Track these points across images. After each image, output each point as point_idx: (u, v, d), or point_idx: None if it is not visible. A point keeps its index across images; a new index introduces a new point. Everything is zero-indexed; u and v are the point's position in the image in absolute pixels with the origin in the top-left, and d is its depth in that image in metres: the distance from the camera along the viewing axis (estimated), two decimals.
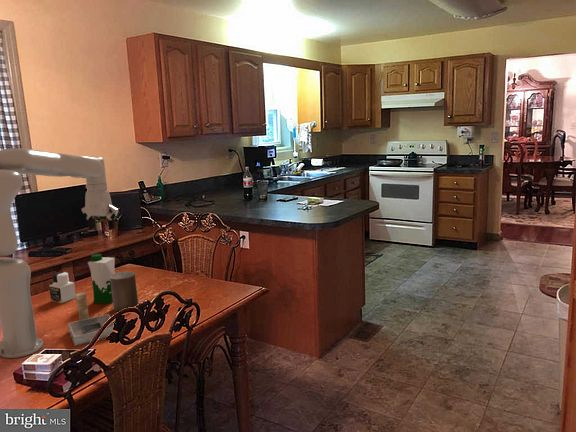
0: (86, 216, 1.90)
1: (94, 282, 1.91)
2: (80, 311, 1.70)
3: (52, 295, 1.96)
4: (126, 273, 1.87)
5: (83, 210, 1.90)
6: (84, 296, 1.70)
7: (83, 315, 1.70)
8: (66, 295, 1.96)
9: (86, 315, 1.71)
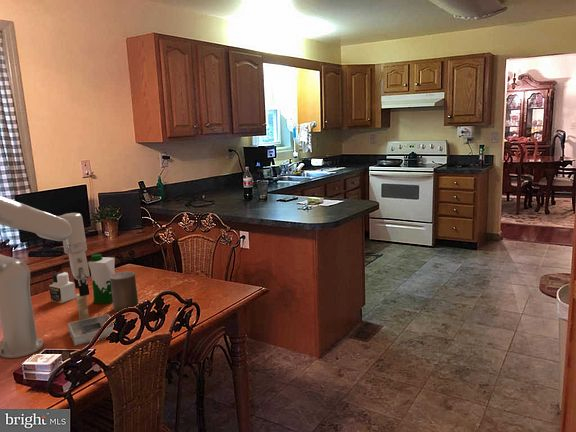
0: (85, 282, 1.65)
1: (94, 282, 1.91)
2: (80, 311, 1.70)
3: (52, 295, 1.96)
4: (126, 273, 1.87)
5: (84, 276, 1.63)
6: (84, 296, 1.70)
7: (83, 315, 1.70)
8: (66, 295, 1.96)
9: (86, 315, 1.71)
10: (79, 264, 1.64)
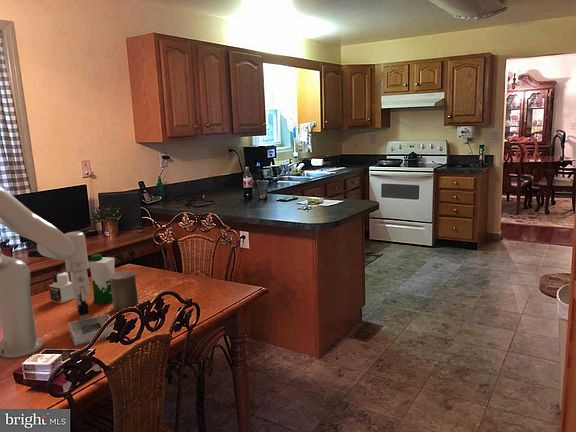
0: (85, 303, 1.68)
1: (94, 282, 1.91)
2: None
3: (52, 295, 1.96)
4: (126, 273, 1.87)
5: None
6: None
7: None
8: (66, 295, 1.96)
9: (87, 314, 1.71)
10: (80, 283, 1.65)
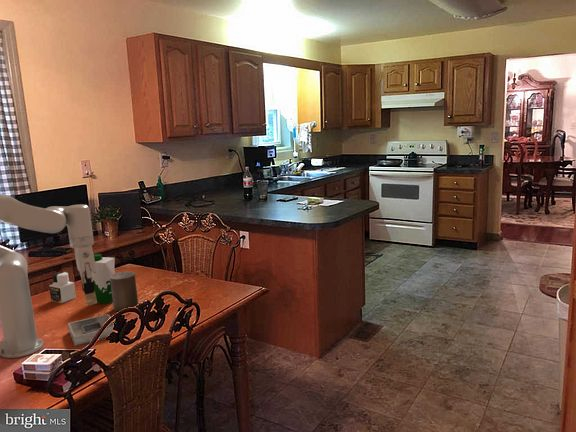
0: (91, 281, 1.58)
1: (94, 282, 1.91)
2: None
3: (52, 295, 1.96)
4: (126, 273, 1.87)
5: (90, 275, 1.55)
6: None
7: (89, 293, 1.60)
8: (66, 295, 1.96)
9: (93, 293, 1.60)
10: (85, 259, 1.54)
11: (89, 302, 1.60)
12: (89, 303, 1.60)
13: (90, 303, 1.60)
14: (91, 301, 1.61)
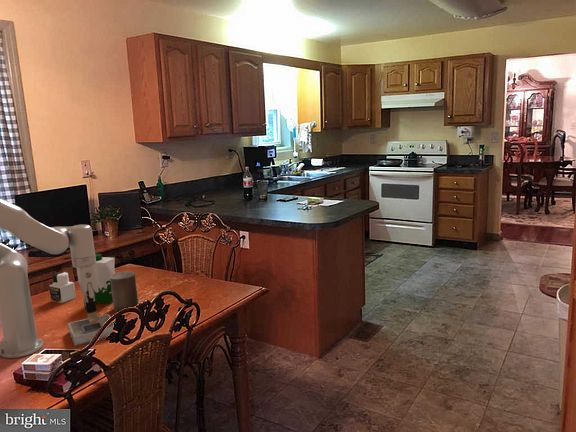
0: (93, 300, 1.59)
1: None
2: None
3: (52, 295, 1.96)
4: (126, 273, 1.87)
5: (93, 295, 1.57)
6: None
7: (92, 312, 1.61)
8: (66, 295, 1.96)
9: (95, 312, 1.62)
10: (88, 279, 1.56)
11: (91, 321, 1.62)
12: (91, 322, 1.62)
13: (92, 322, 1.62)
14: (93, 320, 1.62)
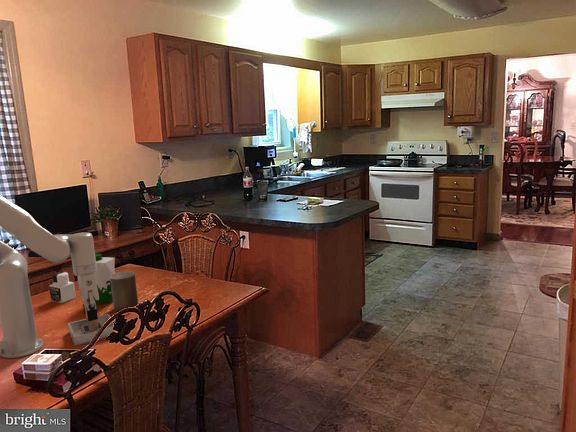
0: (94, 307, 1.58)
1: None
2: None
3: (52, 295, 1.96)
4: (126, 273, 1.87)
5: (94, 302, 1.56)
6: None
7: (92, 322, 1.62)
8: (66, 295, 1.96)
9: (95, 322, 1.62)
10: (88, 286, 1.56)
11: None
12: None
13: None
14: None
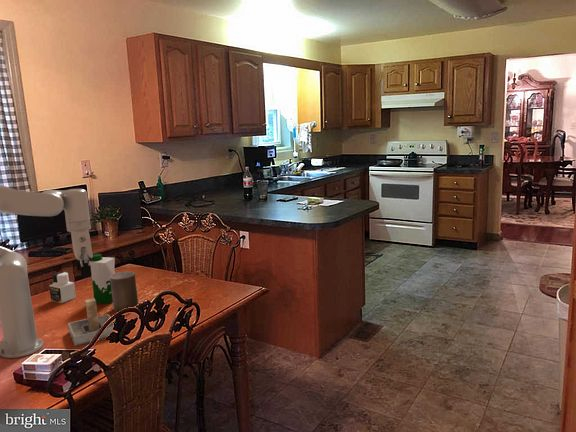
0: None
1: (94, 282, 1.91)
2: (90, 318, 1.61)
3: (52, 295, 1.96)
4: (126, 273, 1.87)
5: None
6: (94, 302, 1.61)
7: (93, 322, 1.62)
8: (66, 295, 1.96)
9: (96, 322, 1.62)
10: (82, 243, 1.53)
11: None
12: None
13: None
14: None
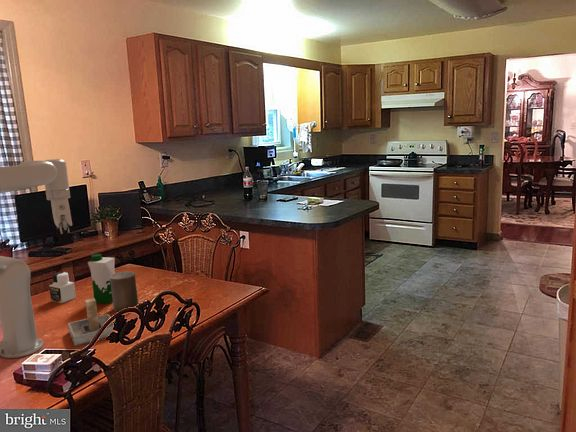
0: (67, 230, 1.60)
1: (94, 282, 1.91)
2: (90, 318, 1.61)
3: (52, 295, 1.96)
4: (126, 273, 1.87)
5: (66, 223, 1.58)
6: (94, 302, 1.61)
7: (93, 322, 1.62)
8: (66, 295, 1.96)
9: (96, 322, 1.62)
10: (61, 211, 1.59)
11: None
12: None
13: None
14: None
